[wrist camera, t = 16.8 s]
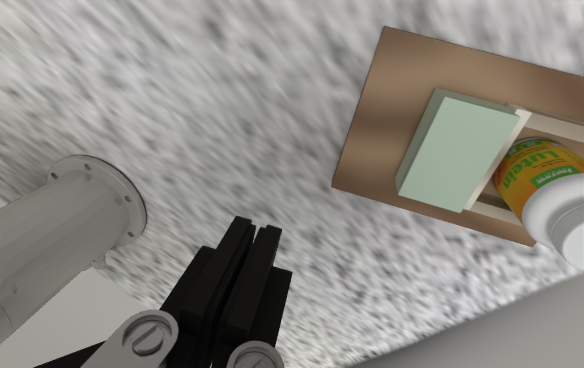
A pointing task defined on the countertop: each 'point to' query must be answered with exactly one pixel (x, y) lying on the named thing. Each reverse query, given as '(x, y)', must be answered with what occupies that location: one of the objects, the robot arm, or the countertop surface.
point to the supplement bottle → (546, 194)
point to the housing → (453, 149)
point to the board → (464, 80)
